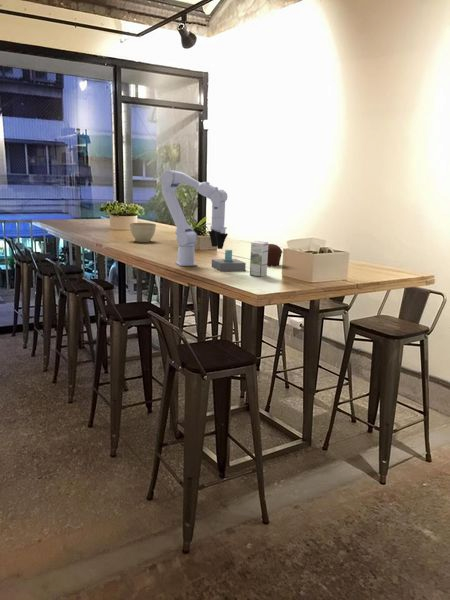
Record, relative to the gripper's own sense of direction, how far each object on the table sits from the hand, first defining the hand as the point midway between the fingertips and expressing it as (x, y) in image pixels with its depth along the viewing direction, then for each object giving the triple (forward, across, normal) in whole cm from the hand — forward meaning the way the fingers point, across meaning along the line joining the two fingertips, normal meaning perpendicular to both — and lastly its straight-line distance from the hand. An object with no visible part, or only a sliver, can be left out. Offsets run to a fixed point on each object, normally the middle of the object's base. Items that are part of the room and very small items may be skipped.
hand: (217, 247), depth 236 cm
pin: (+9, -2, -5) cm, 10 cm away
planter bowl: (+10, +101, +13) cm, 102 cm away
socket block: (+9, -2, -5) cm, 11 cm away
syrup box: (+10, -20, -12) cm, 25 cm away
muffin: (+10, +6, -30) cm, 32 cm away
